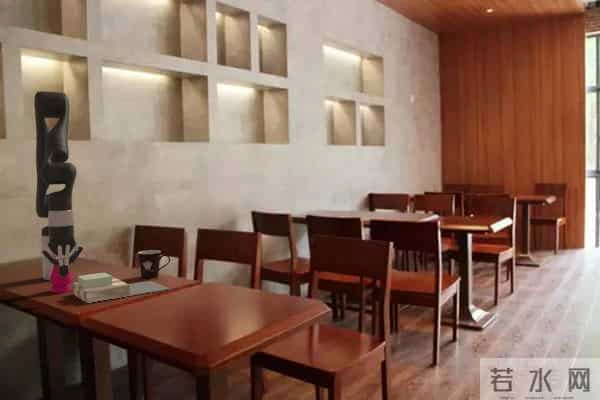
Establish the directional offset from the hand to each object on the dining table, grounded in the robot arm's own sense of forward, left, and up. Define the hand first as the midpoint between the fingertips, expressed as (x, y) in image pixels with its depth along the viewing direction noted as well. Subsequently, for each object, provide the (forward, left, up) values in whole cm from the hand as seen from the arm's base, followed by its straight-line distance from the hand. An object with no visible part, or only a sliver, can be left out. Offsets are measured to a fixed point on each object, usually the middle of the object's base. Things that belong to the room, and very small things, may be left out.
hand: (63, 276), depth 177 cm
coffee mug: (-16, +37, -9) cm, 41 cm away
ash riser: (0, +12, -8) cm, 15 cm away
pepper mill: (-16, +3, -9) cm, 19 cm away
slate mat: (0, +26, -8) cm, 27 cm away
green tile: (0, +10, -4) cm, 11 cm away
